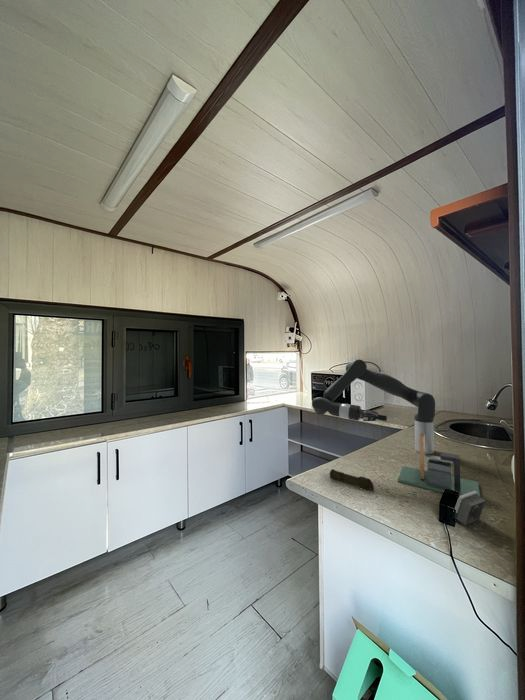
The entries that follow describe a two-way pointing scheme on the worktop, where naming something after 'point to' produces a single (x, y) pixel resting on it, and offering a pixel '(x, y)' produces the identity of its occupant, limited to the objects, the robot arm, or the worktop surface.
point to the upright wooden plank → (426, 457)
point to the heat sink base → (439, 476)
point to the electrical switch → (469, 507)
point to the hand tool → (353, 480)
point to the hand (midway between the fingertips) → (386, 418)
